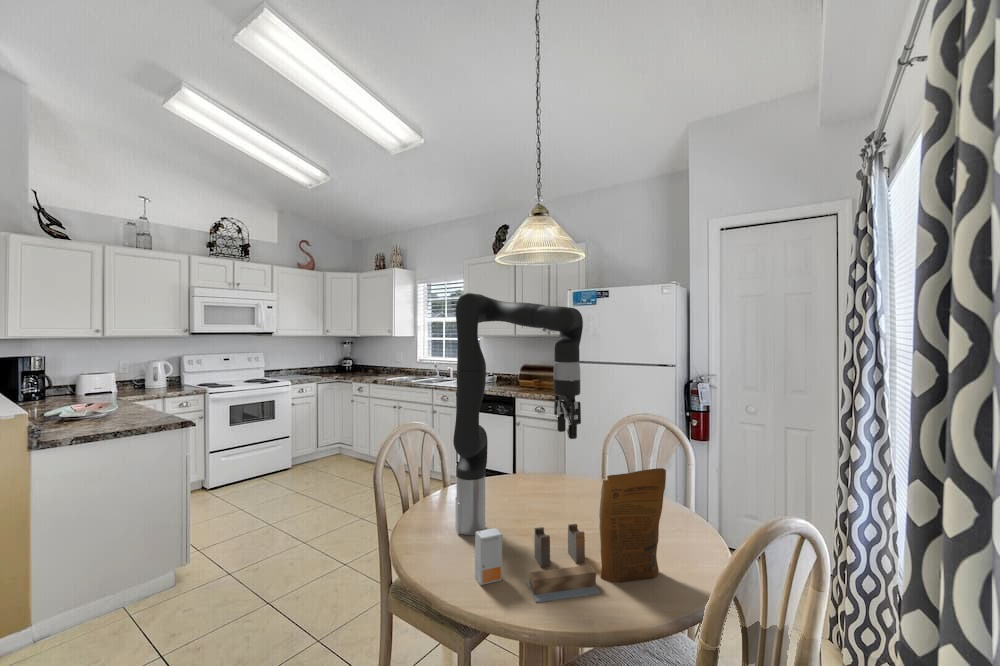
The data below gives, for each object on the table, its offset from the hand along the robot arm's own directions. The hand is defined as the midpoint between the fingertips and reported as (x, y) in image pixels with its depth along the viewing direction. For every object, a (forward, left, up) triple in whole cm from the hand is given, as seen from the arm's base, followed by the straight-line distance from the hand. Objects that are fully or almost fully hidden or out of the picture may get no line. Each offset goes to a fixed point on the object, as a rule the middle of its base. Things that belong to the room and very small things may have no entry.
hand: (566, 434), depth 125 cm
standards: (-3, -2, -34) cm, 34 cm away
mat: (-7, -15, -34) cm, 38 cm away
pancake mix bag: (+12, -14, -34) cm, 39 cm away
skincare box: (-24, -7, -34) cm, 42 cm away
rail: (-7, -15, -34) cm, 37 cm away
